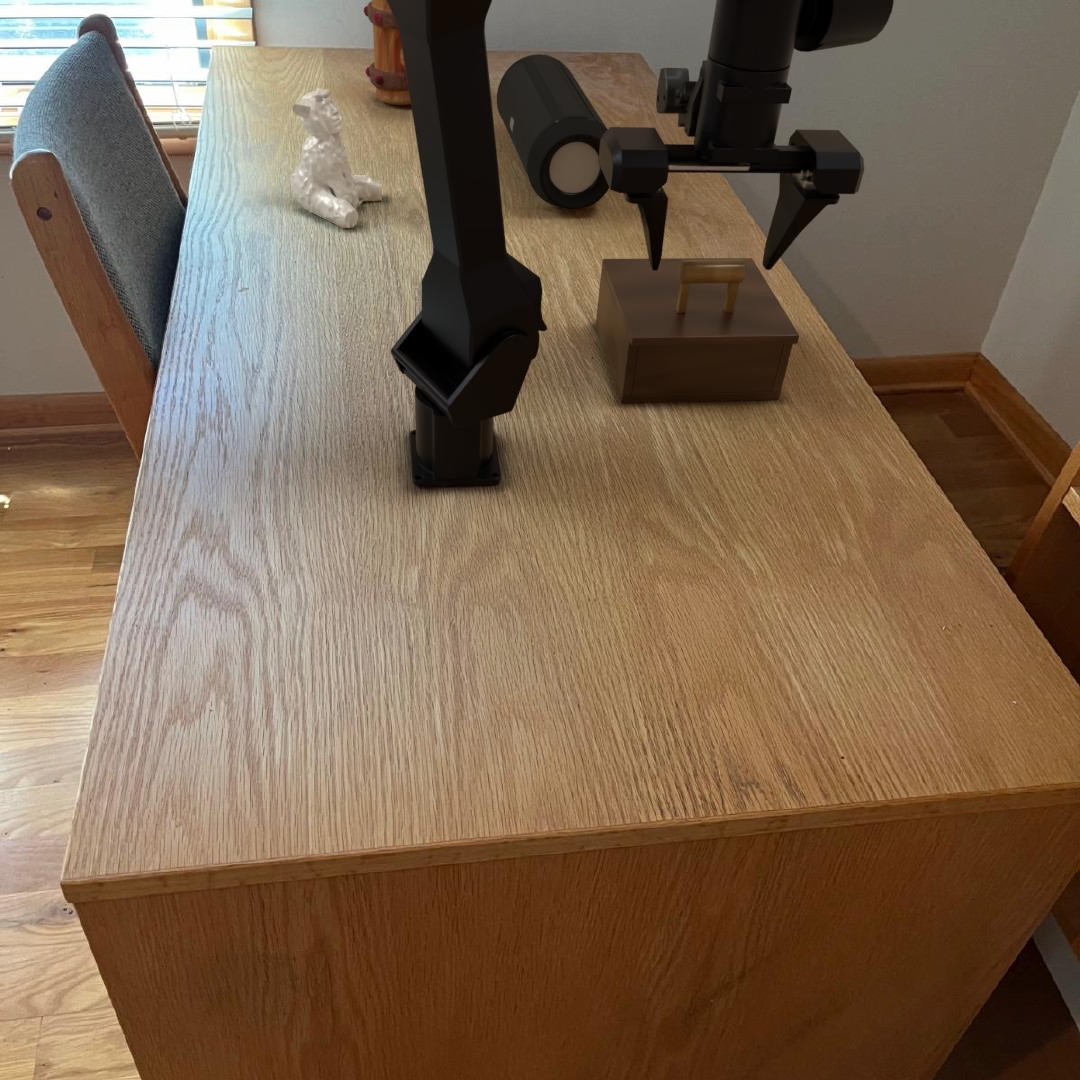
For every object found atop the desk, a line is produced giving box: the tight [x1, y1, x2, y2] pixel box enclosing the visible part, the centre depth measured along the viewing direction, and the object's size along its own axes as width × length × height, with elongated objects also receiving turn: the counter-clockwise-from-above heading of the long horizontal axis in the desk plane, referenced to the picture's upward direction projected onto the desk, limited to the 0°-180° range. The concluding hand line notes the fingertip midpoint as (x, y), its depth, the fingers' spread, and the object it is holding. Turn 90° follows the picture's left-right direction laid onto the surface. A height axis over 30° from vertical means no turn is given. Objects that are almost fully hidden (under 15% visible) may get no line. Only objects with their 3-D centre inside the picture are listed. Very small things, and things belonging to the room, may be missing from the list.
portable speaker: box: [496, 53, 610, 211], centre depth 117 cm, size 26×10×10 cm, turn 11°
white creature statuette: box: [290, 87, 383, 229], centre depth 105 cm, size 10×9×12 cm
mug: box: [363, 0, 411, 106], centre depth 128 cm, size 15×8×15 cm, turn 25°
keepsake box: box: [595, 267, 794, 404], centre depth 88 cm, size 13×14×6 cm
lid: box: [601, 257, 800, 346], centre depth 84 cm, size 13×14×5 cm
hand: (710, 267), depth 81 cm, fingers open, 9 cm apart
